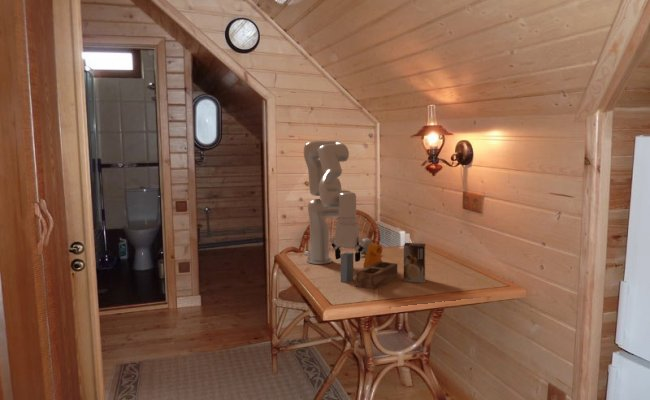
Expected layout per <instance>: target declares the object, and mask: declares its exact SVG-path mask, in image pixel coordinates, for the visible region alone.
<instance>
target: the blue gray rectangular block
mask: <svg viewBox="0 0 650 400" xmlns="http://www.w3.org/2000/svg"><path fill="white" fill-rule="evenodd" d="M354 259H355V252H353V251H346V252H343V253H341V258H340V282H341V283H349V282H350V281H353V280H354Z"/></svg>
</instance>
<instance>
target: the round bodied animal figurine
mask: <svg viewBox="0 0 650 400" xmlns="http://www.w3.org/2000/svg"><path fill="white" fill-rule="evenodd" d="M361 240H363V241H364V242H366V245H365V247H364V249H363V250H362V251H361V252H360V254H363V255H364V254H365V255H366V253H367V249H368V246H369V245H370V244H371V243H373V244H374V242H373V240H372V239H371V238H368V237H366V238H363V239H361ZM359 247H361V243H359Z"/></svg>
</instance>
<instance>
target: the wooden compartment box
mask: <svg viewBox="0 0 650 400" xmlns="http://www.w3.org/2000/svg"><path fill="white" fill-rule="evenodd" d="M382 261H383V260H382ZM382 261H379V262H376V263H374V264H372V265H370V266H368V267H366V268H364V267H363V269H360V270H358V271H356V273H355V274H356V275H355V280H356V281H355V283H356V284H355V286H356V287H358V288H365V289H369V290H378V289H379V288H381V287H382V286H384V285H386V284H387V283H389V282H391V281H392V280H394V279H396V278H398V263H394V262H387V261H383V262H382Z"/></svg>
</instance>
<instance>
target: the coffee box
mask: <svg viewBox="0 0 650 400" xmlns="http://www.w3.org/2000/svg"><path fill="white" fill-rule="evenodd" d="M403 282H404V283H405V282H408V283H422V284H424V283H425V282H426V243H421V242H420V243H418V242H417V243H416V242H405V243H404V245H403Z"/></svg>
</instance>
